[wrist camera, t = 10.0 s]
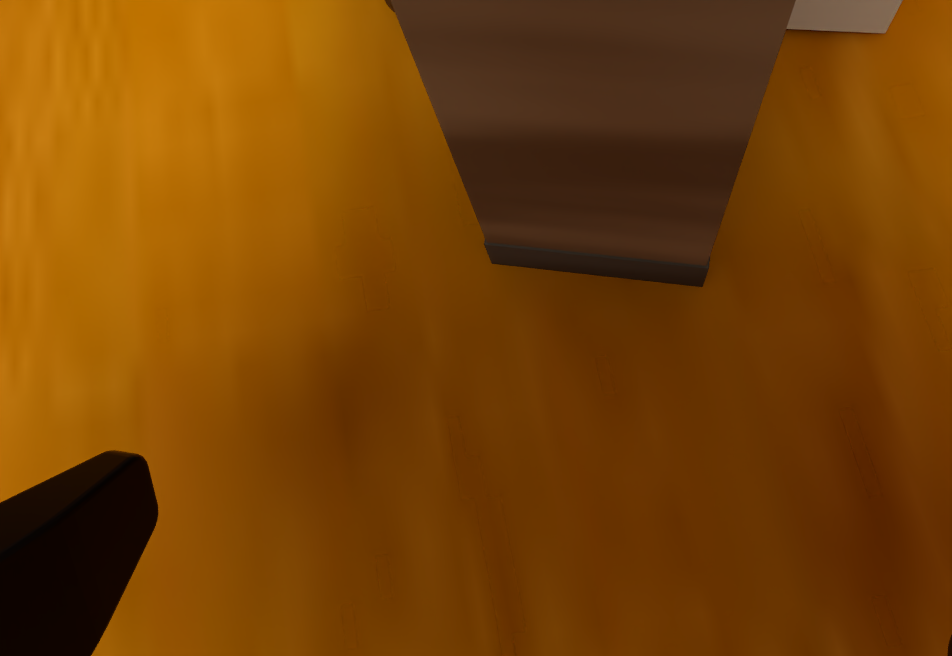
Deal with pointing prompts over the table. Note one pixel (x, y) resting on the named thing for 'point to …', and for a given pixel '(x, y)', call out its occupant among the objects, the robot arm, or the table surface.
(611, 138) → the doorstop post
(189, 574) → the table surface
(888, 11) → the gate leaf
